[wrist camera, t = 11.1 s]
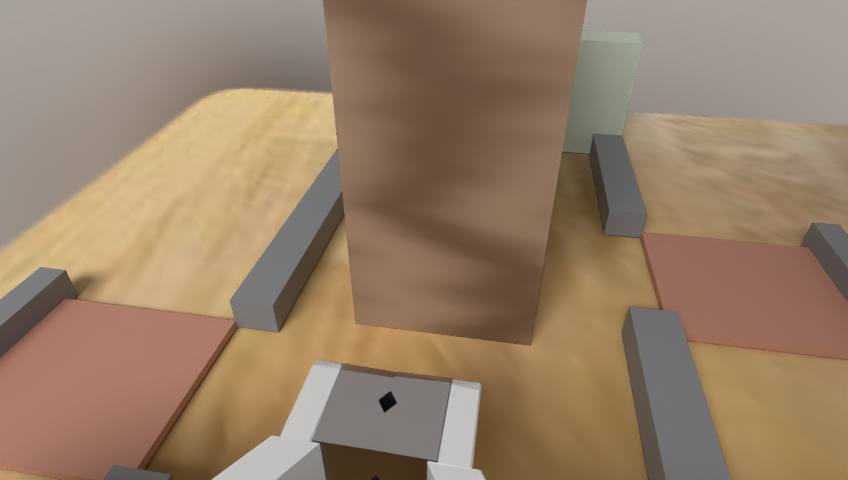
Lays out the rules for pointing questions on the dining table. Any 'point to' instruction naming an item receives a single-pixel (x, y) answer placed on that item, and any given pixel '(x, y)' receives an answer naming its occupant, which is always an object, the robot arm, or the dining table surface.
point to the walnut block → (450, 156)
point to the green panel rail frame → (299, 253)
